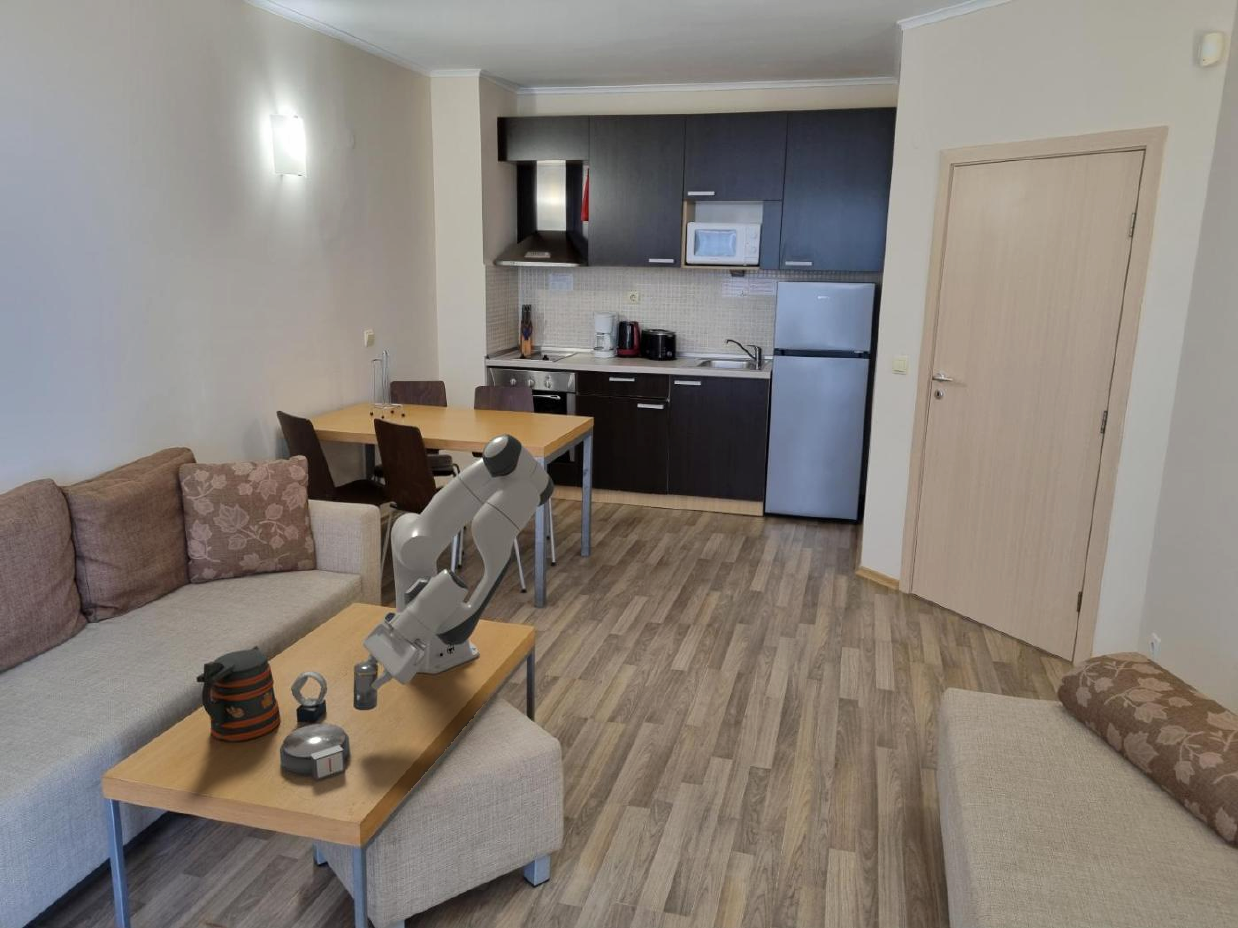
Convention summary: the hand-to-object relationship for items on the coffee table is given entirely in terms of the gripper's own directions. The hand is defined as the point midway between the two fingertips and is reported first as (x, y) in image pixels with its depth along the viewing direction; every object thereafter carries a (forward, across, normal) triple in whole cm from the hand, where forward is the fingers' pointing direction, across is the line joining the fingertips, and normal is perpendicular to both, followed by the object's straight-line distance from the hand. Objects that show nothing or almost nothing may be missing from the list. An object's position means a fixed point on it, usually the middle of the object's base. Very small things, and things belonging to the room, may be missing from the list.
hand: (367, 681), depth 192 cm
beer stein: (+27, +20, +4) cm, 34 cm away
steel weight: (+4, 0, -4) cm, 5 cm away
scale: (+18, -2, -2) cm, 19 cm away
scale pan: (+16, 0, 0) cm, 16 cm away
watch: (+15, +18, -6) cm, 24 cm away
